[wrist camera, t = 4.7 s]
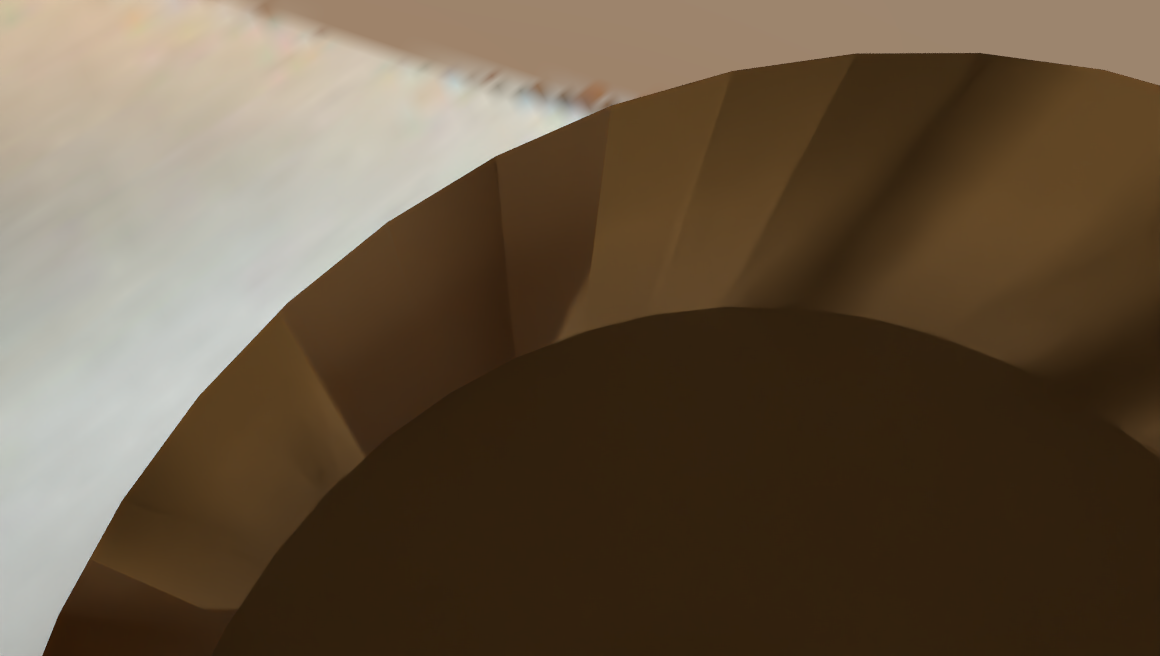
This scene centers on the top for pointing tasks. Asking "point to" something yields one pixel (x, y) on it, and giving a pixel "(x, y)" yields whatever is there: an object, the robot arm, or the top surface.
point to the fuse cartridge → (699, 394)
